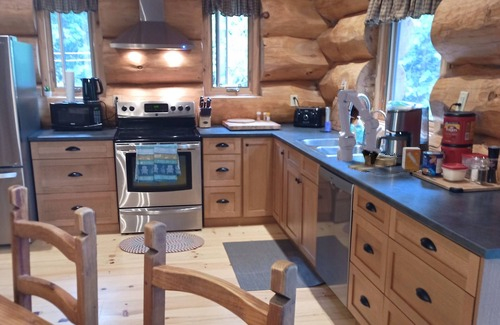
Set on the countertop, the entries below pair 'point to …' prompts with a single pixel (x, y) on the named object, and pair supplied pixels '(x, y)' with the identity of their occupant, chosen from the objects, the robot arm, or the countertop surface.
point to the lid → (388, 156)
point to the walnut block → (368, 161)
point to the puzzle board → (378, 163)
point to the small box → (411, 159)
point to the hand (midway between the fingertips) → (369, 163)
